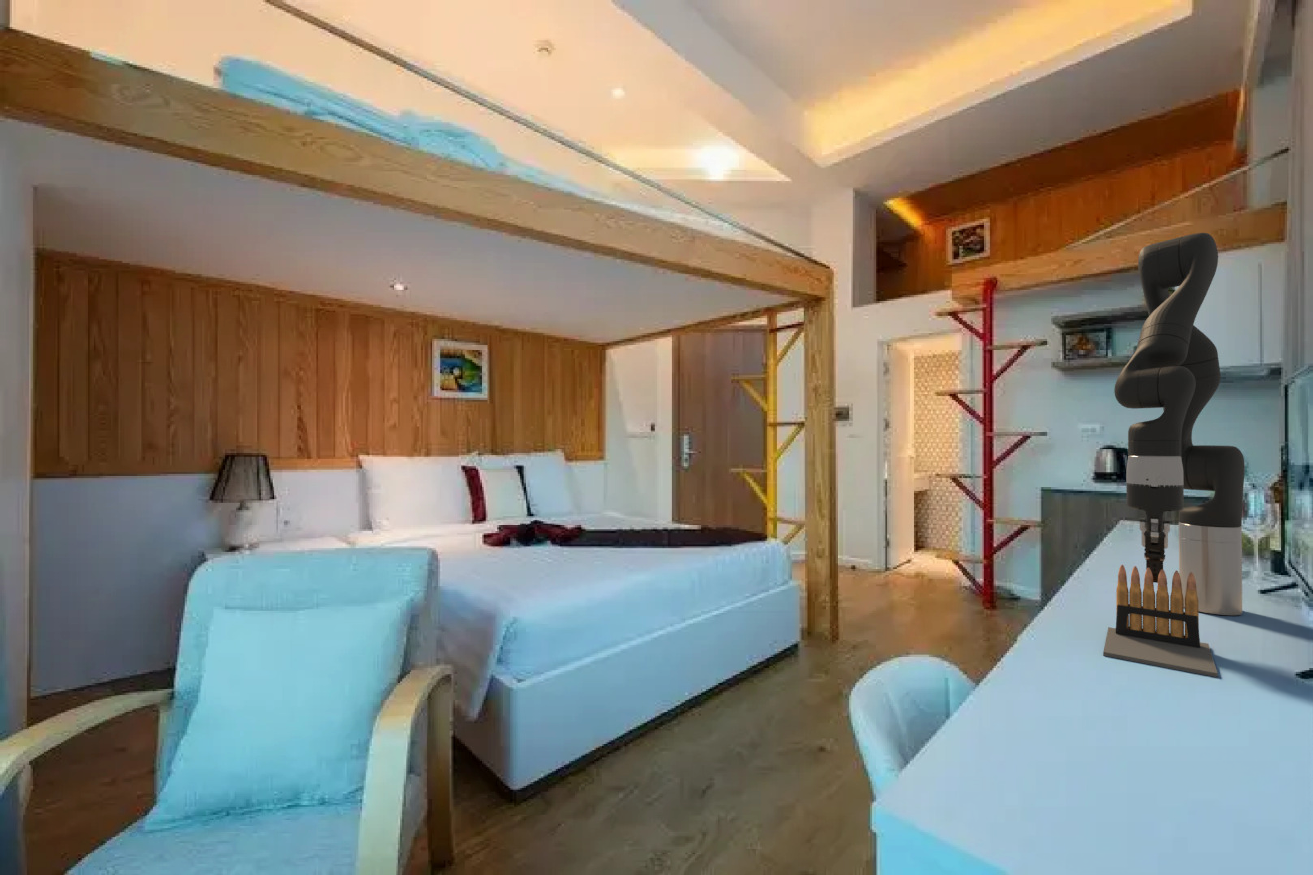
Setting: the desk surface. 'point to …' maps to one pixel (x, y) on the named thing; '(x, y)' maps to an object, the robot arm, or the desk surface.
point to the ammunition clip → (1157, 609)
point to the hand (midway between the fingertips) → (1154, 581)
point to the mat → (1160, 653)
